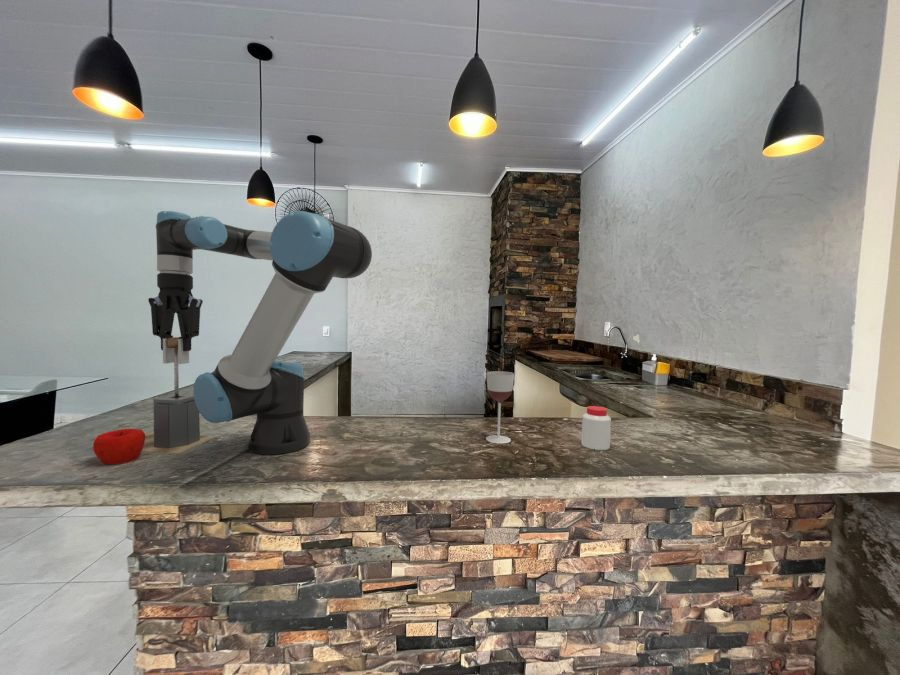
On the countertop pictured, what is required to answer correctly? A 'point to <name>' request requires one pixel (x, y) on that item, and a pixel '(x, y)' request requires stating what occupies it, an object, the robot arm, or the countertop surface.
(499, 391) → the wineglass
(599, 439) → the pill bottle
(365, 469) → the countertop surface
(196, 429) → the gray octagonal holder
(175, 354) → the plunger
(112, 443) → the apple
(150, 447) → the board
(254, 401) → the robot arm
